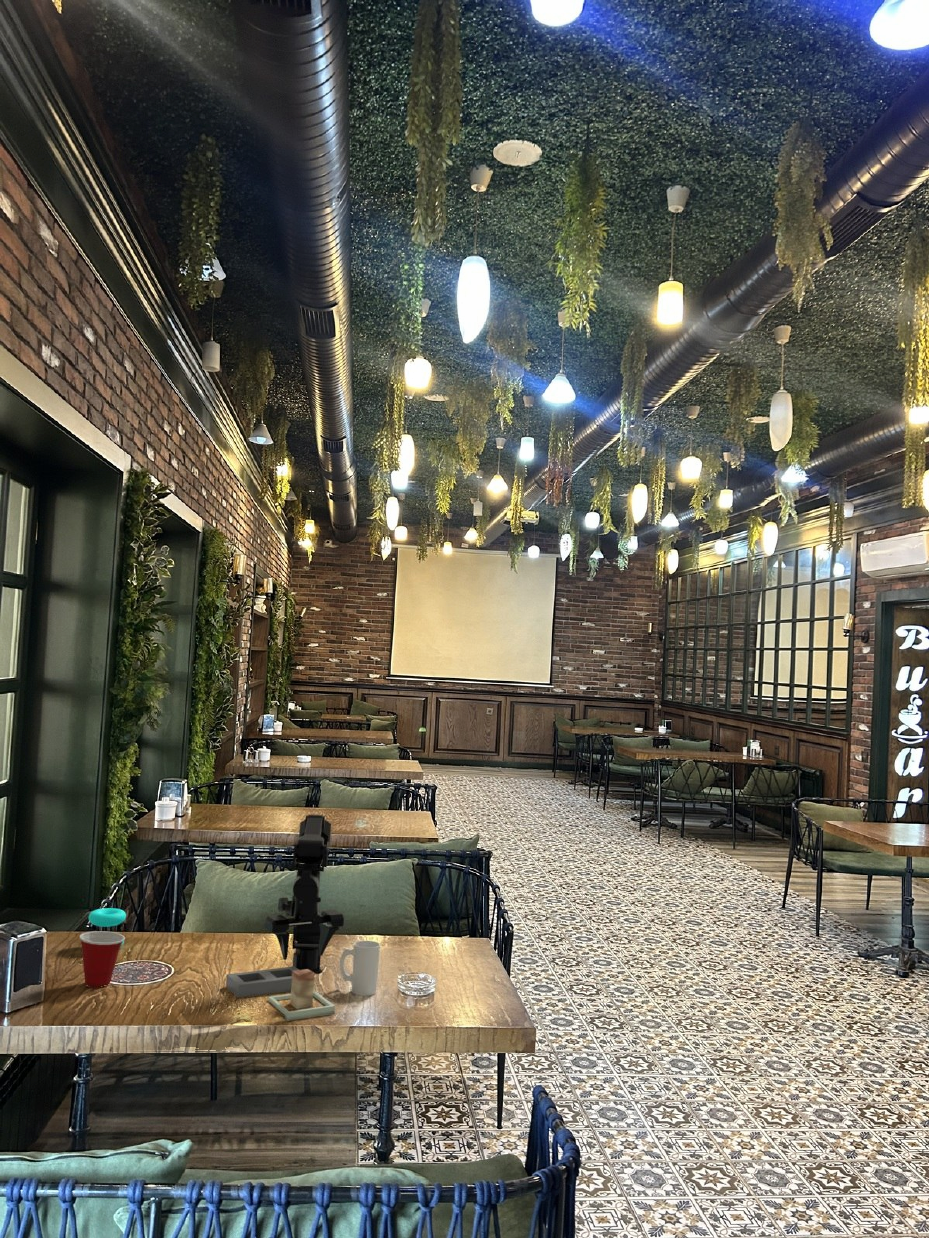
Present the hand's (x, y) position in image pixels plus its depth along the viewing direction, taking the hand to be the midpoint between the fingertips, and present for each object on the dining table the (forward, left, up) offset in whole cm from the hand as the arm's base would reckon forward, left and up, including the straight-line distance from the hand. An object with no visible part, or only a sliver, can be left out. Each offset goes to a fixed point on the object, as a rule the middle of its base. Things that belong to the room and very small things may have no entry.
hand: (302, 957), depth 226 cm
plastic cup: (+39, -35, -12) cm, 54 cm away
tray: (0, +1, -12) cm, 12 cm away
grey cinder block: (+3, -14, -12) cm, 18 cm away
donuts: (+31, -67, -12) cm, 75 cm away
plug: (0, +1, -11) cm, 11 cm away
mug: (-18, -5, -12) cm, 22 cm away
